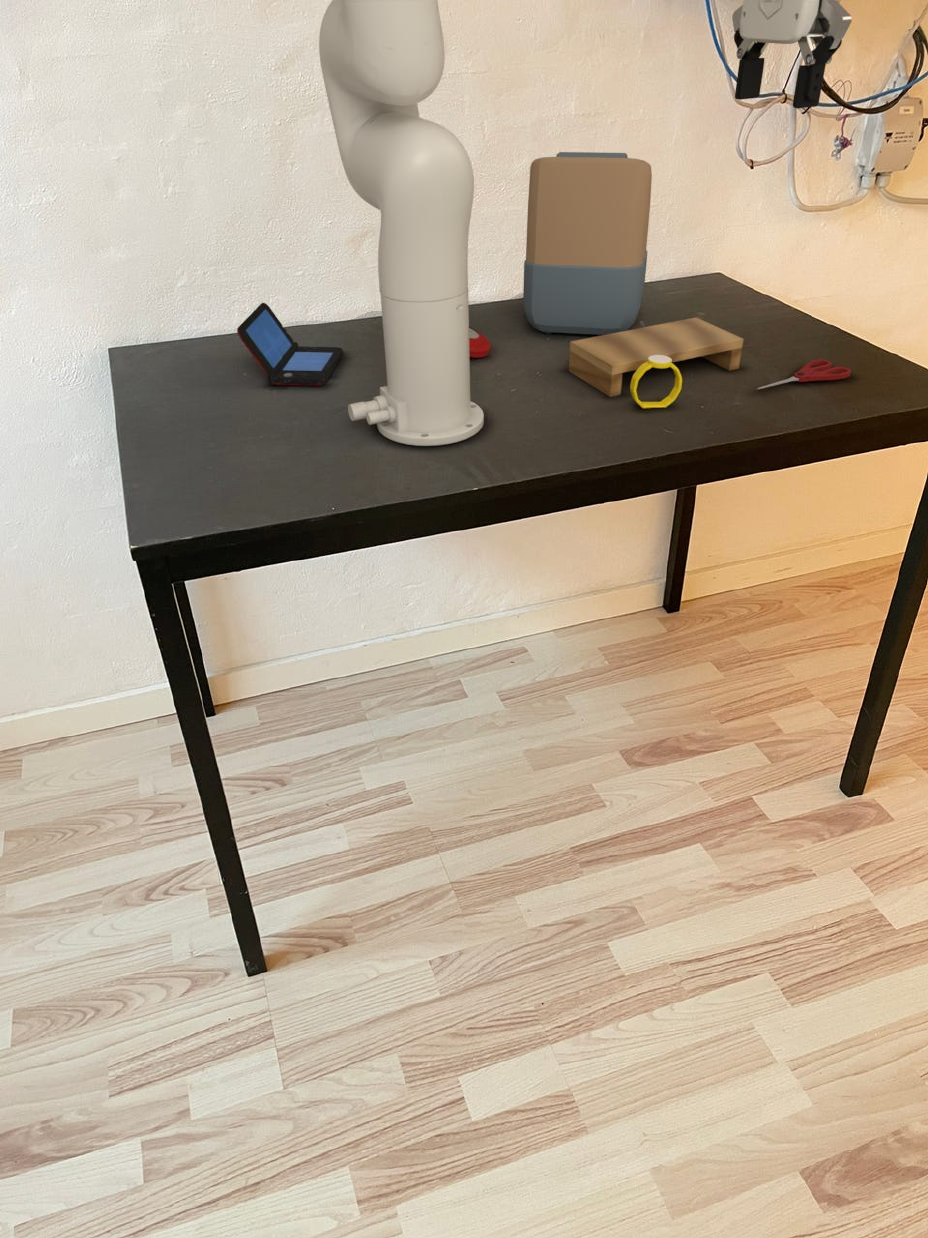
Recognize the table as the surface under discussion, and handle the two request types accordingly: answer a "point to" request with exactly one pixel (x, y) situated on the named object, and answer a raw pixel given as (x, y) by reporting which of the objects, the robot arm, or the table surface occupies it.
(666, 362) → the watch
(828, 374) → the scissors
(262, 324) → the handheld game console
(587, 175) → the brown blue rounded box
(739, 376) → the table surface
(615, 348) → the desk stand
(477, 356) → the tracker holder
